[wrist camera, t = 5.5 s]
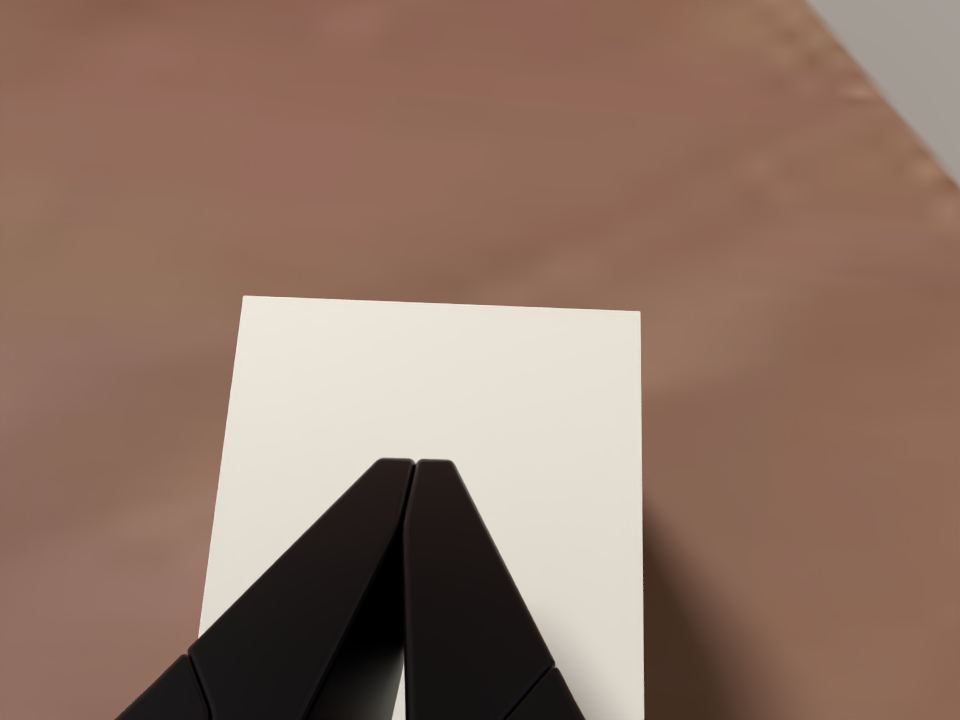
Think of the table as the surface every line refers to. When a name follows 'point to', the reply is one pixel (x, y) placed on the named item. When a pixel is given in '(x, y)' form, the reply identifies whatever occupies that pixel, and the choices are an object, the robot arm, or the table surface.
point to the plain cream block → (453, 454)
